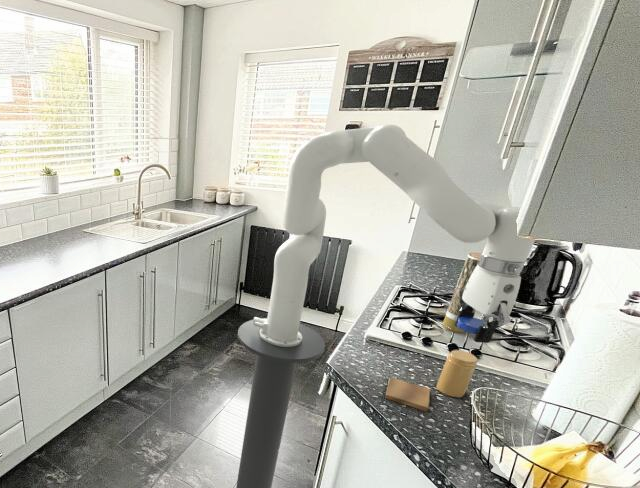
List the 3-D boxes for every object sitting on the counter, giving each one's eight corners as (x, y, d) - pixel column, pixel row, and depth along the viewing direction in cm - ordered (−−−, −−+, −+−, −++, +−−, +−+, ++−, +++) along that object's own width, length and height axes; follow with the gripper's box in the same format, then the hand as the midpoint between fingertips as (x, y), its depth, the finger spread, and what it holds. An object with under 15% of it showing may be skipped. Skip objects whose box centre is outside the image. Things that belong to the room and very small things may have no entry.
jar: (435, 391, 108) (449, 357, 103) (436, 380, 112) (449, 347, 108) (464, 400, 105) (479, 365, 100) (464, 388, 109) (478, 354, 105)
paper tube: (471, 330, 137) (500, 258, 126) (459, 335, 134) (488, 261, 124) (449, 322, 143) (475, 251, 132) (437, 326, 140) (463, 254, 129)
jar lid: (482, 324, 103) (484, 318, 102) (495, 337, 97) (498, 331, 97) (451, 320, 105) (454, 314, 104) (463, 333, 99) (466, 327, 98)
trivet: (384, 398, 106) (385, 394, 105) (388, 380, 112) (389, 377, 112) (427, 411, 101) (428, 407, 100) (428, 392, 108) (430, 389, 107)
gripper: (549, 279, 86) (514, 354, 94) (491, 252, 101) (464, 318, 109) (510, 278, 86) (478, 352, 94) (458, 251, 102) (434, 316, 110)
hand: (471, 333), depth 102 cm, fingers closed on jar lid, 6 cm apart
